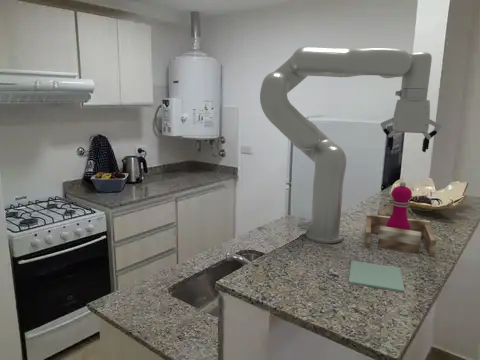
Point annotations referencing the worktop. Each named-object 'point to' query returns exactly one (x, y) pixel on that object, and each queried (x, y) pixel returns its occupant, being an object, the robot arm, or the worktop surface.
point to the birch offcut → (400, 235)
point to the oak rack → (415, 225)
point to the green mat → (376, 276)
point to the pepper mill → (400, 207)
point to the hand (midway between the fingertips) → (407, 150)
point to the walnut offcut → (398, 245)
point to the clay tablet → (389, 210)
